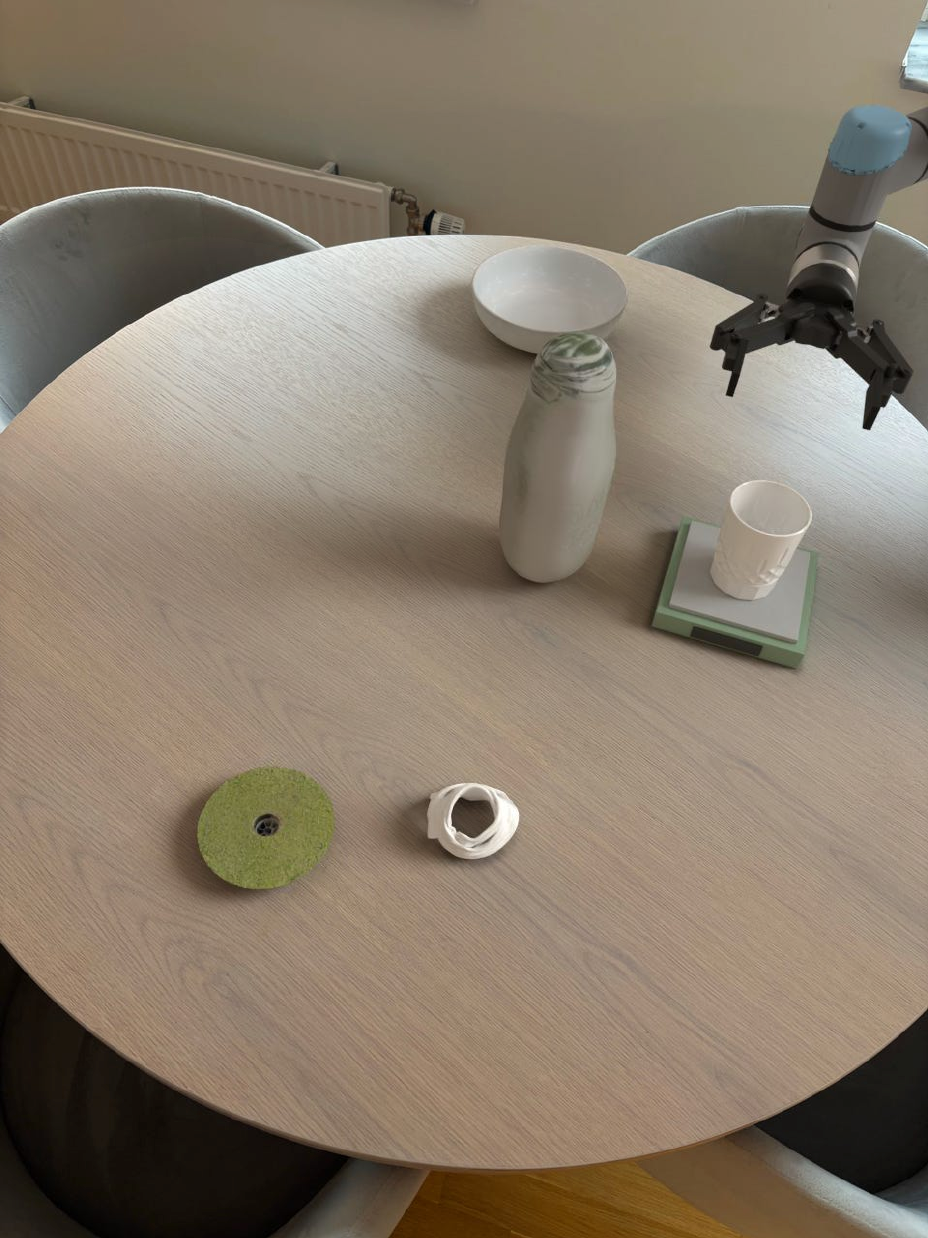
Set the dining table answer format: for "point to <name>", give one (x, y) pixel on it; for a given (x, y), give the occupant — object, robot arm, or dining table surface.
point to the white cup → (758, 538)
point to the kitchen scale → (735, 601)
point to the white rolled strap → (460, 842)
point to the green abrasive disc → (265, 827)
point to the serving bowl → (547, 295)
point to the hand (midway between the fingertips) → (801, 401)
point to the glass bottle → (559, 459)
